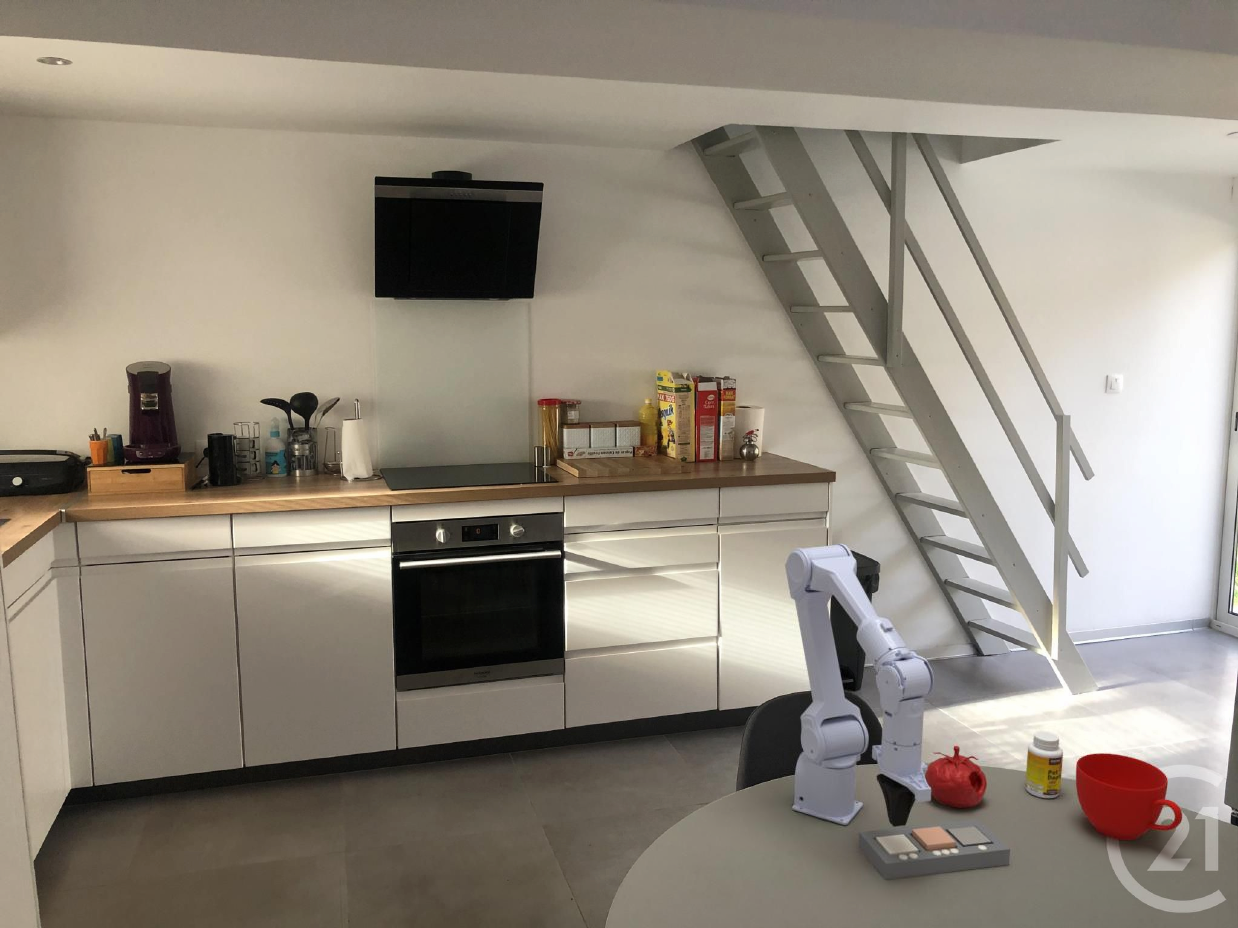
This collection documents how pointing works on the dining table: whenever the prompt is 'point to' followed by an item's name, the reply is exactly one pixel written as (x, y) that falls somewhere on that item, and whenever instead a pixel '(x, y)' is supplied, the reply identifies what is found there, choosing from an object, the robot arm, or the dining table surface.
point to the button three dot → (933, 838)
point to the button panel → (933, 852)
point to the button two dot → (896, 845)
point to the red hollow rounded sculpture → (956, 780)
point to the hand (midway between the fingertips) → (897, 823)
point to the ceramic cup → (1122, 795)
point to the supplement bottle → (1044, 765)
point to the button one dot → (969, 836)
